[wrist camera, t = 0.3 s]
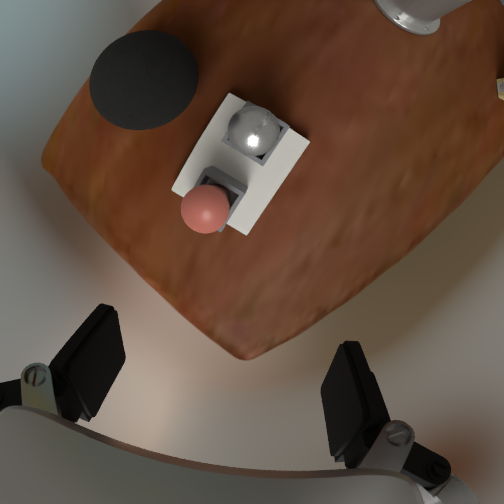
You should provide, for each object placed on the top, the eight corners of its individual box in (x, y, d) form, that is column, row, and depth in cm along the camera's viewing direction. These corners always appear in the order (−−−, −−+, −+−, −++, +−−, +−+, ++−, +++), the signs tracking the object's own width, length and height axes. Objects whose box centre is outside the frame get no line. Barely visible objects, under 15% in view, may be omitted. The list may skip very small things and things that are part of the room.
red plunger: (208, 170, 31) (195, 176, 25) (242, 192, 31) (237, 202, 26) (188, 204, 32) (172, 217, 27) (222, 225, 33) (213, 241, 27)
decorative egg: (161, 40, 28) (112, 0, 14) (228, 76, 31) (204, 37, 17) (114, 107, 32) (48, 99, 18) (174, 147, 35) (121, 152, 21)
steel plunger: (249, 106, 27) (245, 96, 22) (285, 127, 28) (289, 123, 23) (226, 140, 29) (217, 139, 24) (262, 161, 30) (261, 165, 24)
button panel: (231, 95, 32) (223, 84, 25) (307, 142, 34) (317, 141, 27) (175, 187, 37) (157, 196, 30) (247, 231, 39) (243, 249, 32)
